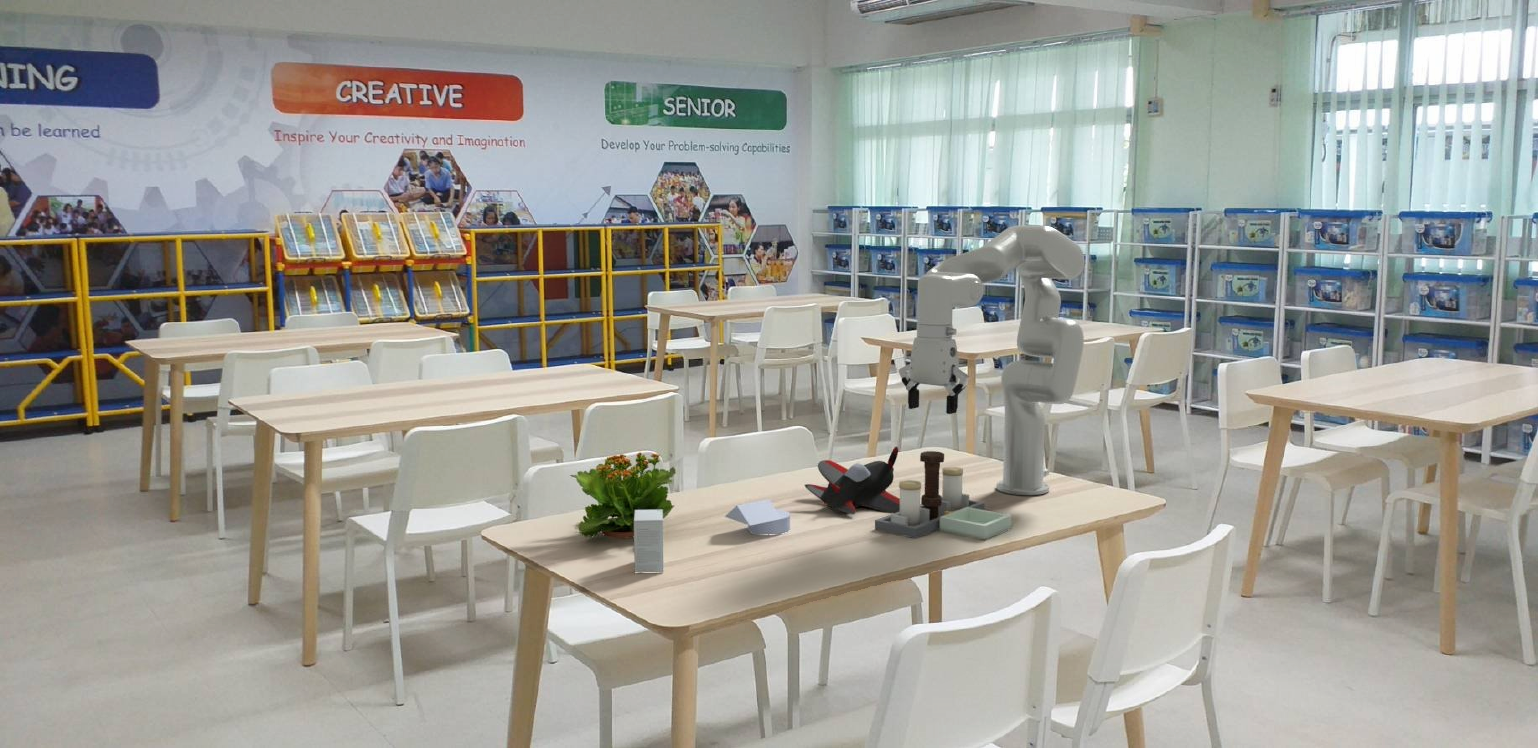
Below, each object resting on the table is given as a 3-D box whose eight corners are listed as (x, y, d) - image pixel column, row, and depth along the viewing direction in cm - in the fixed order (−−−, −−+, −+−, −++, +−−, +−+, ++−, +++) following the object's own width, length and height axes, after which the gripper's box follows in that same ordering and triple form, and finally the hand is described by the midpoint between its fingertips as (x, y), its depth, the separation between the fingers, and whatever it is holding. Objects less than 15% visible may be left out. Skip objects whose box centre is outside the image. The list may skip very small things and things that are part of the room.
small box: (635, 561, 230) (634, 509, 229) (663, 560, 231) (663, 508, 229) (634, 574, 222) (633, 520, 221) (663, 573, 223) (662, 519, 221)
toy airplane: (780, 506, 277) (783, 452, 270) (847, 470, 292) (852, 418, 285) (867, 560, 261) (874, 504, 253) (934, 519, 275) (941, 465, 268)
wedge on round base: (750, 541, 244) (798, 530, 252) (749, 509, 243) (798, 499, 251) (724, 531, 251) (772, 521, 259) (724, 501, 250) (772, 491, 258)
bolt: (941, 524, 256) (943, 456, 254) (918, 523, 257) (919, 455, 255) (943, 517, 262) (944, 451, 259) (920, 516, 263) (921, 450, 260)
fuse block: (874, 529, 252) (875, 513, 252) (945, 503, 273) (945, 489, 273) (917, 538, 245) (917, 522, 245) (986, 511, 266) (986, 496, 266)
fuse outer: (906, 524, 256) (907, 479, 255) (924, 528, 253) (925, 482, 252) (894, 528, 253) (895, 483, 251) (912, 532, 250) (913, 486, 248)
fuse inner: (948, 508, 269) (949, 466, 267) (966, 512, 266) (966, 468, 264) (937, 512, 265) (938, 469, 264) (955, 516, 262) (956, 472, 261)
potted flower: (559, 522, 259) (556, 444, 256) (663, 511, 267) (661, 436, 264) (583, 553, 235) (581, 468, 233) (696, 541, 244) (695, 458, 241)
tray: (966, 520, 259) (966, 506, 259) (1011, 529, 252) (1011, 515, 252) (939, 530, 251) (939, 517, 250) (984, 540, 244) (985, 526, 243)
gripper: (978, 333, 250) (976, 413, 253) (910, 328, 262) (908, 404, 264) (959, 336, 245) (957, 417, 247) (891, 330, 256) (889, 408, 258)
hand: (932, 410), depth 255 cm, fingers open, 9 cm apart
